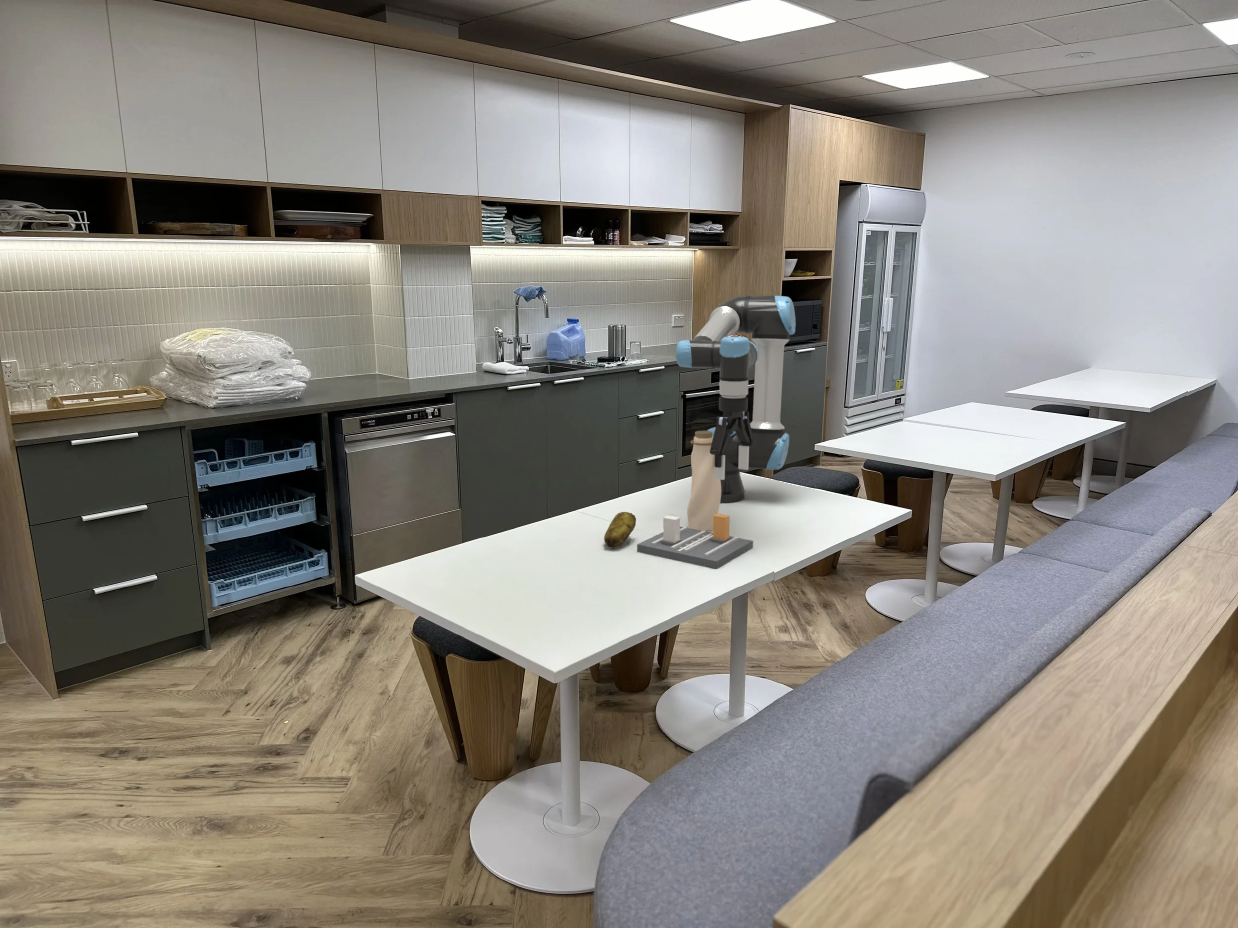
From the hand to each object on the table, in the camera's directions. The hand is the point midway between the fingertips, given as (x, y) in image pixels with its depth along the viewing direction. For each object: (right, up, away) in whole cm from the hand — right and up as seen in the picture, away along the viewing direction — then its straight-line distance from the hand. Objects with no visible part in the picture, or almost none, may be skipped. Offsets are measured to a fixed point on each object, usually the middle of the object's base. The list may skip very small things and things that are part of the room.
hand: (731, 474), depth 233 cm
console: (-10, -20, -3) cm, 23 cm away
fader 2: (-3, -18, -2) cm, 18 cm away
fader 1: (-16, -18, -4) cm, 25 cm away
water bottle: (-6, -16, +17) cm, 24 cm away
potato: (-30, -19, +3) cm, 36 cm away
